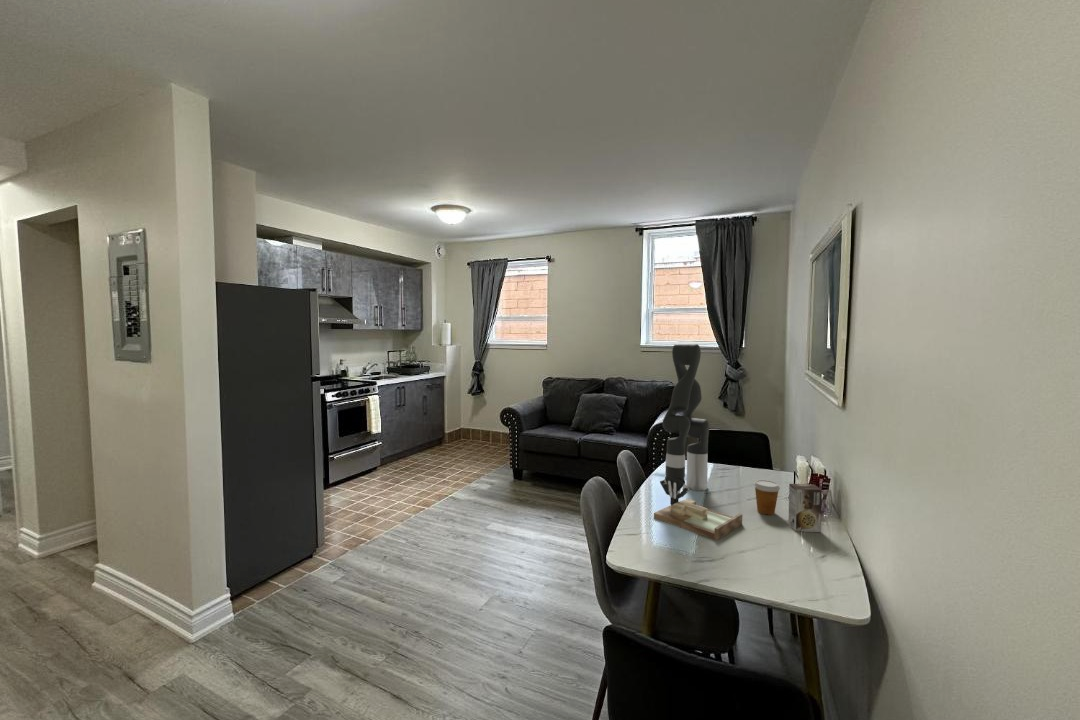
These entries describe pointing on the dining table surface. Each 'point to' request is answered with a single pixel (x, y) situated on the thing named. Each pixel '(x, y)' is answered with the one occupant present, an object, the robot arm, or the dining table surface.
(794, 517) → the cracker box
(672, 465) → the robot arm
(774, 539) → the dining table surface
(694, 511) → the t block
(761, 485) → the disposable coffee cup
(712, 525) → the board
